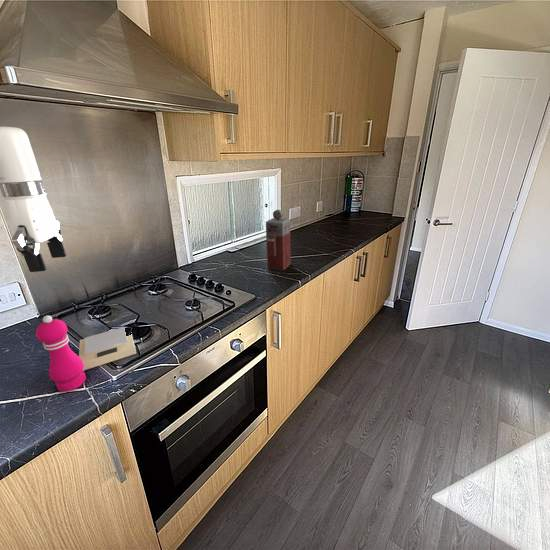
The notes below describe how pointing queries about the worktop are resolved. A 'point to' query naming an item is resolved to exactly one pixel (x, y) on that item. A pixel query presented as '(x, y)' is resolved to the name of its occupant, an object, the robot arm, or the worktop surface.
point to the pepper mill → (61, 355)
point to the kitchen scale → (106, 348)
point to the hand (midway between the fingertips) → (49, 263)
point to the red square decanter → (278, 241)
